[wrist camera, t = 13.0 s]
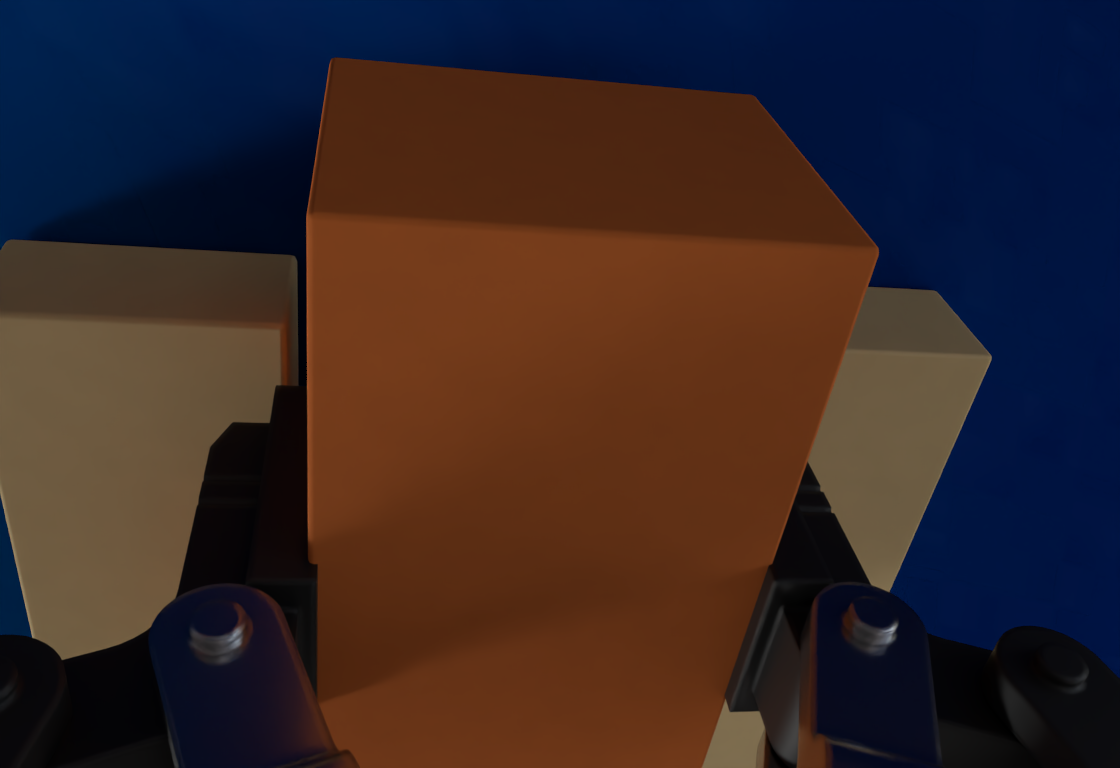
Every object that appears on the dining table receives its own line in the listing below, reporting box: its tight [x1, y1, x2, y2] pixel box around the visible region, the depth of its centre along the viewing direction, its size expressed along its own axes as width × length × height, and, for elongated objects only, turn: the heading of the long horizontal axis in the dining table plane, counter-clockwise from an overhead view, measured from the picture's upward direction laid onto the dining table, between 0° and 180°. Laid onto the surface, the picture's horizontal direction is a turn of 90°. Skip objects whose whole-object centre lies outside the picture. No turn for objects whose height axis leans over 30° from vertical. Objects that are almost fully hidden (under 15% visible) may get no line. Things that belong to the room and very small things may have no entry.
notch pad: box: [0, 240, 991, 768], centre depth 19 cm, size 14×14×2 cm
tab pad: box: [306, 57, 879, 768], centre depth 13 cm, size 5×10×4 cm, turn 172°
